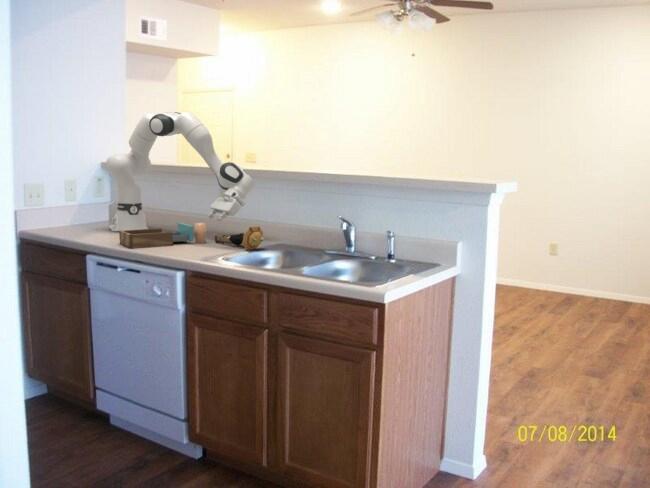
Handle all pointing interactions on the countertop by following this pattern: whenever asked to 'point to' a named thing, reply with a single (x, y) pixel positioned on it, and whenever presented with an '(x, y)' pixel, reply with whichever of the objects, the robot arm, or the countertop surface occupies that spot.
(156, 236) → the brown wooden box
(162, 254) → the countertop surface
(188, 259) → the countertop surface
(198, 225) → the cylinder
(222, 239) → the toy
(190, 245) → the countertop surface
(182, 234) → the teal tilted board
